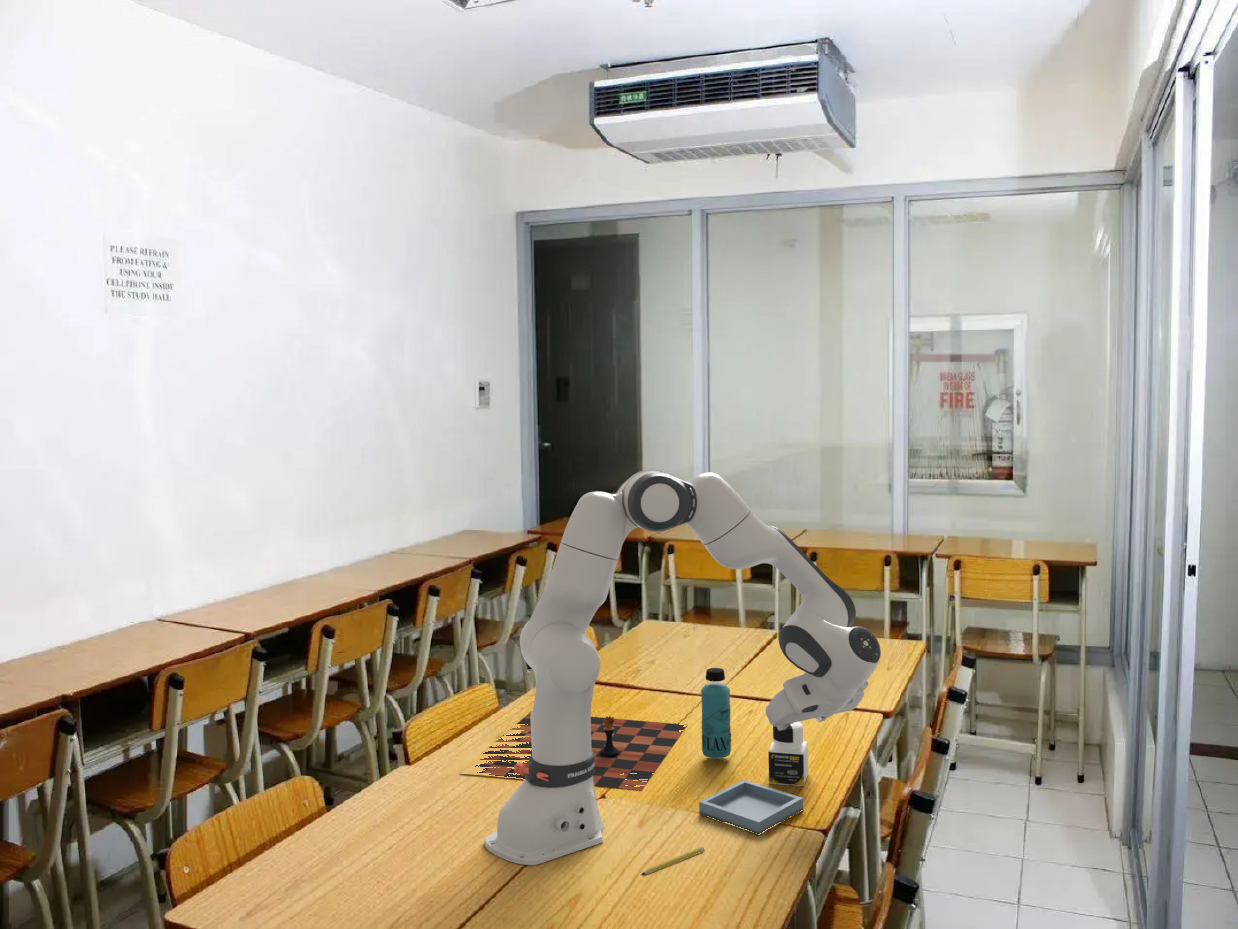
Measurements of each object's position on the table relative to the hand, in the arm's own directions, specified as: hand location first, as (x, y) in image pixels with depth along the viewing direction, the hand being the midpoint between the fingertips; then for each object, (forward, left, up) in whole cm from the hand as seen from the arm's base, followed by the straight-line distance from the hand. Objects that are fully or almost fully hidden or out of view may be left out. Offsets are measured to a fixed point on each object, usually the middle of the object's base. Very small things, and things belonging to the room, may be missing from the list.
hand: (799, 722), depth 210 cm
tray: (-17, 0, -13) cm, 21 cm away
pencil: (-42, -2, -14) cm, 44 cm away
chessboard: (-14, +50, -14) cm, 53 cm away
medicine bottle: (+1, +4, -13) cm, 14 cm away
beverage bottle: (0, +22, -13) cm, 25 cm away
